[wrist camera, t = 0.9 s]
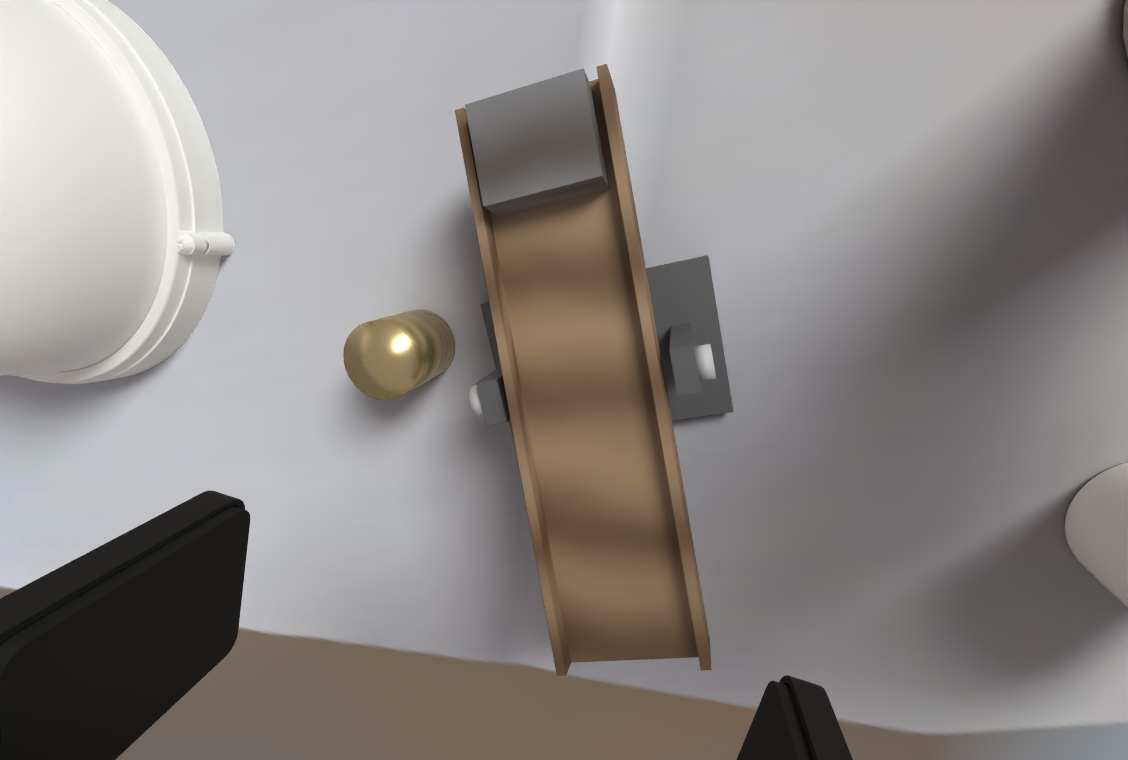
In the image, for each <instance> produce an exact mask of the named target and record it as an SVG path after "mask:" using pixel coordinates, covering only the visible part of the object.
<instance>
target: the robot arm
mask: <svg viewBox="0 0 1128 760" xmlns="http://www.w3.org/2000/svg"><path fill="white" fill-rule="evenodd" d="M1123 38H1124V42H1125V47H1126V52H1127V57H1128V0H1126V2H1125V6H1124V18H1123ZM249 526H250V514H249V512H248V511H246V510H245V505H244V503H243V501H241V500H240V499H237V498H234V497H231V496H228V495H224V494H221V493H218V492H215V491H206V492H203V493H201V494H199V495H197V496H195V497H193V498H191V499H190V500H188V501H186V502H184V503H182V504H180V505H178V506H176V507H174V508H172V509H171V510H169V511H167V512H165V513H163V514H161V515H159V516H157V517H155V518H153V519H151V520H150V521H148V522H146V523H144V524H142V525H140V526H138V527H136V528H134V529H132V530H130V531H129V532H127V533H125V534H123V535H121V536H119V537H117V538H115V539H113V540H111V541H110V542H108V543H106V544H104V545H102V546H100V547H98V548H96V549H94V550H92V551H90V552H89V553H87V554H85V555H83V556H81V557H79V558H77V559H75V560H73V561H71V562H70V563H68V564H66V565H64V566H62V567H60V568H58V569H56V570H54V571H52V572H50V573H49V574H47V575H45V576H43V577H41V578H39V579H37V580H35V581H33V582H31V583H30V584H28V585H26V586H24V587H22V588H20V589H18V590H16V591H14V592H12V593H11V594H9V595H7V596H5V597H3V598H1V599H0V760H115V759H116V758H117V757H118V756H119V755H120V754H122V753H123V752H124V751H125V750H126V749H127V748H128V747H129V746H130V745H131V744H132V743H133V742H135V741H136V740H137V739H138V738H139V737H140V736H141V735H142V734H143V733H144V732H145V731H146V730H147V729H148V728H150V727H151V726H152V725H153V724H154V723H155V722H156V721H157V720H158V719H159V718H160V717H161V716H162V715H163V714H164V713H166V712H167V711H168V710H169V709H170V708H171V707H172V706H173V705H174V704H175V703H176V702H177V701H178V700H179V699H180V698H182V697H183V696H184V695H185V694H186V693H187V692H188V691H189V690H190V689H191V688H192V687H193V686H194V685H196V683H198V682H199V681H200V680H201V679H202V678H203V677H204V676H205V675H206V674H207V673H208V672H209V671H211V670H212V669H213V668H214V667H215V666H216V665H217V664H218V663H219V662H220V661H221V660H222V659H223V658H224V657H225V656H226V655H227V654H228V653H229V652H230V650H231V649H232V647H233V645H234V643H235V641H236V638H237V634H238V627H239V618H240V609H241V599H242V590H243V581H244V572H245V562H246V553H247V544H248V535H249ZM737 760H853V759H852V757H851V754H850V752H849V749H848V747H847V744H846V742H845V739H844V736H843V734H842V731H841V729H840V727H839V724H838V721H837V719H836V716H835V713H834V711H833V708H832V706H831V703H830V701H829V698H828V696H827V693H826V691H825V690H824V688H822V687H821V686H819V685H816V684H813V683H810V682H806V681H803V680H800V679H797V678H794V677H791V676H788V675H787V676H784V677H783V678H782V679H781V680H780V682H779V683H778V682H775V681H771V682H770V683H769V684H768V686H767V688H766V690H765V692H764V695H763V697H762V700H761V702H760V705H759V707H758V709H757V712H756V714H755V717H754V719H753V722H752V724H751V726H750V729H749V731H748V734H747V736H746V738H745V741H744V743H743V746H742V748H741V751H740V753H739V755H738V758H737Z"/></svg>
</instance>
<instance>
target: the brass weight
mask: <svg viewBox="0 0 1128 760" xmlns="http://www.w3.org/2000/svg"><path fill="white" fill-rule="evenodd" d="M454 354H455V340H454V336H453V333H452V331H451V329H450V327H449V326H448V324H447V323H446V322H445V321H444V320H443V319H442V318H441V317H440V316H438V315H437V314H435V313H433V312H430V311H427V310H413V311H409V312H405V313H401V314H397V315H393V316H389V317H385V318H382V319H378V320H374V321H370V322H366V323H364V324H361V325H360V326H358V327H357V328H355V329H354V330H353V331H352V332H351V334H350V335H349V337H348V338H347V341H346V343H345V347H344V364H345V368H346V371H347V373H348V376H349V377H350V379H351V381H352V382H353V383H354V385H355V386H356V387H357V388H358V389H359V390H360V391H362V392H363V393H365V394H366V395H368V396H370V397H373V398H375V399H380V400H390V399H395V398H398V397H400V396H402V395H404V394H405V393H407V392H409V391H411V390H413V389H414V388H416V387H418V386H420V385H422V384H423V383H425V382H427V381H429V380H431V379H432V378H434V377H436V376H438V375H440V374H441V373H443V372H444V371H445V370H446V369H447V368H448V367H449V366H450V364H451V362H452V360H453V358H454Z"/></svg>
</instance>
